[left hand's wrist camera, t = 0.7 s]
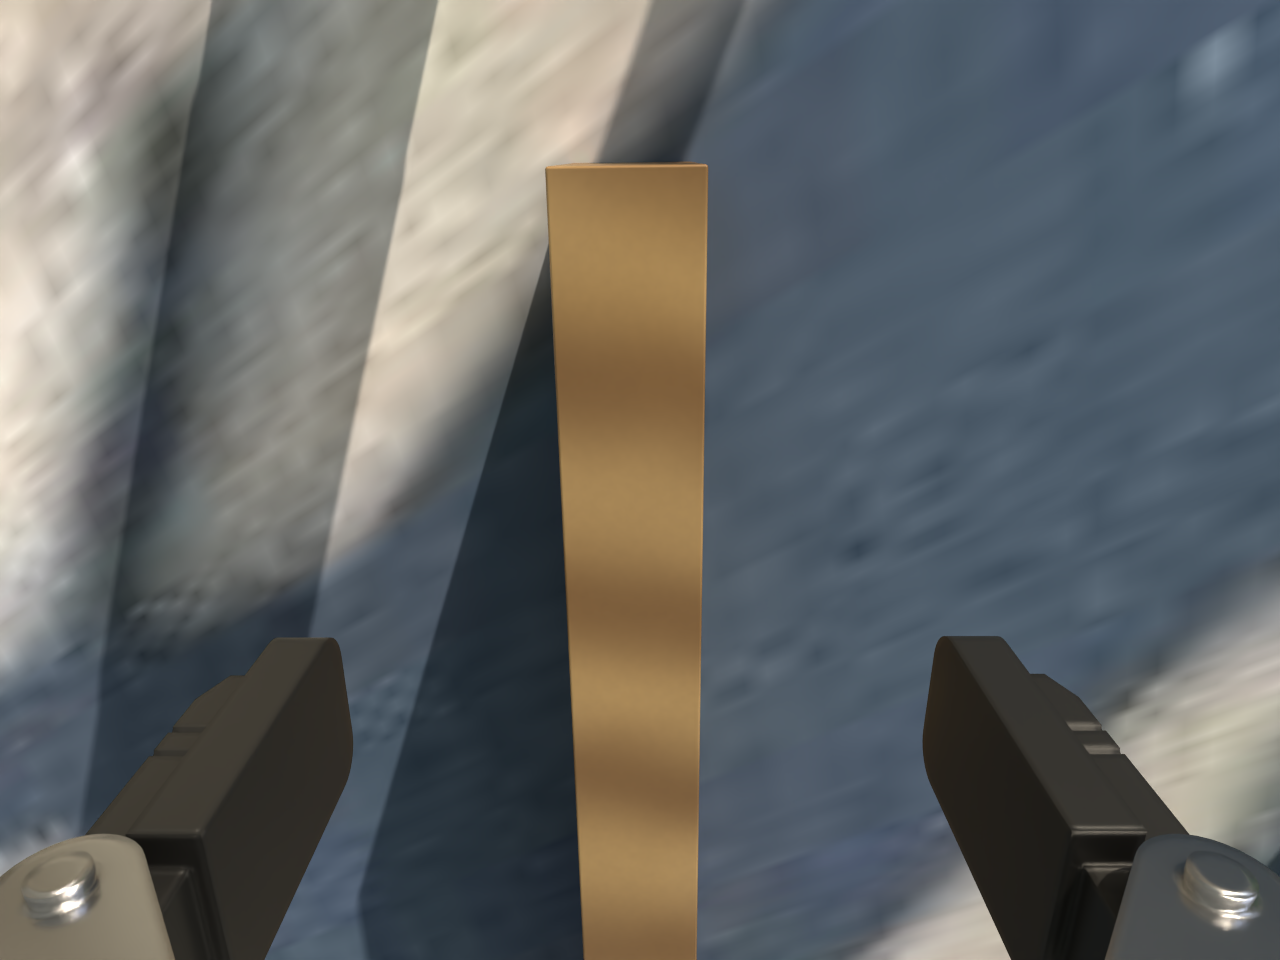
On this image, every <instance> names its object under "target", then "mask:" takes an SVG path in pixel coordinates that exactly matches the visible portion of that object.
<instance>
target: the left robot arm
mask: <svg viewBox="0 0 1280 960" xmlns="http://www.w3.org/2000/svg"><path fill="white" fill-rule="evenodd" d="M352 755H353V734H352V726H351V719H350V712H349V705H348V698H347V691H346V684H345V678H344V671H343V664H342V657H341V651H340V648H339V645H338V643H337V641H336V640H335V639H334V638H275V639H273V640H272V641H271V642H270V643H269V644H268V645H267V647H266V648H265V649H264V651H263V652H262V653H261V655H260V656H259V657H258V659H257V660H256V661H255V663H254V664H253V665H252V667H251V668H250V669H249V671H248V672H247V673H246V675H245V676H229V677H228V678H226V679H225V680H223V681H222V682H220V683H219V684H217V685H216V686H214V687H213V688H211V689H210V690H209V691H207V692H206V693H204V694H203V695H201V696H200V697H198V698H197V699H195V700H194V702H193V703H192V704H191V705H190V707H189V708H188V709H187V710H186V712H185V713H184V714H183V715H182V716H181V718H180V719H179V720H178V721H177V723H176V724H175V725H174V726H173V731H172V733H168V734H167V735H166V736H165V737H164V739H163V740H162V741H161V742H160V744H159V745H158V746H157V747H156V748H155V750H154V755H153V756H149V757H148V758H147V760H146V761H145V762H144V763H143V764H142V766H141V767H140V768H139V769H138V771H137V772H136V773H135V774H134V776H133V777H132V778H131V779H130V780H129V782H128V783H127V784H126V785H125V787H124V788H123V789H122V790H121V792H120V793H119V794H118V795H117V797H116V798H115V799H114V800H113V801H112V803H111V804H110V805H109V806H108V808H107V809H106V810H105V811H104V813H103V814H102V815H101V816H100V817H99V819H98V820H97V821H96V822H95V824H94V825H93V826H92V827H91V829H90V830H89V831H88V832H87V833H86V835H85V836H81V837H77V838H73V839H69V840H66V841H63V842H60V843H57V844H54V845H52V846H50V847H47V848H45V849H43V850H40V851H39V852H37V853H35V854H33V855H31V856H29V857H27V858H26V859H24V860H23V861H21V862H20V863H18V864H16V865H15V866H13V867H12V868H11V869H10V870H8V871H7V872H6V873H4V874H3V875H2V876H1V877H0V960H264V959H265V957H266V955H267V953H268V951H269V948H270V946H271V944H272V942H273V940H274V938H275V935H276V933H277V931H278V929H279V927H280V925H281V923H282V920H283V918H284V916H285V914H286V912H287V910H288V908H289V905H290V903H291V901H292V899H293V897H294V895H295V892H296V890H297V888H298V886H299V884H300V882H301V880H302V877H303V875H304V873H305V871H306V869H307V867H308V865H309V862H310V860H311V858H312V856H313V854H314V852H315V849H316V847H317V845H318V843H319V841H320V839H321V837H322V834H323V832H324V830H325V828H326V826H327V824H328V822H329V819H330V817H331V815H332V813H333V811H334V809H335V806H336V804H337V802H338V800H339V798H340V796H341V794H342V791H343V789H344V787H345V785H346V782H347V780H348V776H349V773H350V768H351V763H352ZM923 756H924V763H925V768H926V772H927V776H928V779H929V782H930V784H931V786H932V788H933V791H934V793H935V795H936V797H937V799H938V801H939V804H940V806H941V808H942V810H943V812H944V815H945V817H946V819H947V821H948V823H949V825H950V828H951V830H952V832H953V834H954V836H955V838H956V841H957V843H958V845H959V847H960V849H961V852H962V854H963V856H964V858H965V860H966V862H967V865H968V867H969V869H970V871H971V873H972V875H973V878H974V880H975V882H976V884H977V886H978V889H979V891H980V893H981V895H982V897H983V899H984V902H985V904H986V906H987V908H988V910H989V912H990V915H991V917H992V919H993V921H994V923H995V926H996V928H997V930H998V932H999V934H1000V936H1001V939H1002V941H1003V943H1004V945H1005V947H1006V949H1007V952H1008V954H1009V956H1010V958H1011V960H1280V877H1279V876H1278V875H1277V874H1276V873H1274V872H1273V871H1272V870H1270V869H1269V868H1268V867H1267V866H1265V865H1264V864H1262V863H1260V862H1259V861H1257V860H1256V859H1254V858H1253V857H1251V856H1249V855H1247V854H1245V853H1243V852H1241V851H1240V850H1237V849H1235V848H1233V847H1230V846H1228V845H1226V844H1223V843H1220V842H1217V841H1214V840H1211V839H1207V838H1203V837H1199V836H1194V835H1189V833H1188V832H1187V831H1186V830H1185V828H1184V827H1183V826H1182V825H1181V823H1180V822H1179V821H1178V820H1177V819H1176V817H1175V816H1174V815H1173V814H1172V812H1171V811H1170V810H1169V809H1168V807H1167V806H1166V805H1165V804H1164V802H1163V801H1162V800H1161V799H1160V797H1159V796H1158V795H1157V794H1156V792H1155V791H1154V790H1153V789H1152V787H1151V786H1150V785H1149V784H1148V782H1147V781H1146V780H1145V779H1144V778H1143V776H1142V775H1141V774H1140V773H1139V771H1138V770H1137V769H1136V768H1135V766H1134V765H1133V764H1132V763H1131V761H1130V760H1129V759H1128V758H1127V756H1126V755H1125V754H1121V753H1120V748H1119V746H1118V745H1117V744H1116V743H1115V741H1114V740H1113V739H1112V738H1111V736H1110V735H1109V734H1108V733H1107V732H1106V731H1102V729H1101V724H1100V723H1099V722H1098V720H1097V719H1096V718H1095V717H1094V715H1093V714H1092V713H1091V712H1090V710H1089V709H1088V708H1087V707H1086V705H1085V704H1084V703H1083V702H1082V700H1081V699H1080V698H1079V697H1078V696H1076V695H1075V694H1073V693H1072V692H1070V691H1069V690H1067V689H1066V688H1064V687H1063V686H1061V685H1060V684H1058V683H1057V682H1055V681H1054V680H1052V679H1051V678H1050V677H1048V676H1047V675H1045V674H1030V673H1029V672H1028V671H1027V669H1026V668H1025V667H1024V665H1023V664H1022V663H1021V661H1020V660H1019V659H1018V657H1017V656H1016V655H1015V653H1014V652H1013V651H1012V649H1011V648H1010V647H1009V645H1008V644H1007V643H1006V641H1005V640H1004V639H1003V638H1001V637H999V636H943V637H941V638H940V639H939V640H938V642H937V645H936V648H935V652H934V659H933V666H932V673H931V680H930V687H929V694H928V701H927V708H926V715H925V722H924V729H923Z"/></svg>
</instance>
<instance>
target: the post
mask: <svg viewBox="0 0 1280 960" xmlns="http://www.w3.org/2000/svg"><path fill="white" fill-rule="evenodd" d="M545 174H546V195H547V216H548V236H549V257H550V278H551V298H552V319H553V339H554V360H555V381H556V401H557V422H558V443H559V463H560V484H561V504H562V525H563V546H564V566H565V587H566V608H567V628H568V649H569V669H570V690H571V711H572V731H573V752H574V773H575V793H576V814H577V834H578V855H579V876H580V896H581V917H582V938H583V958H584V960H696V951H697V883H698V816H699V748H700V680H701V613H702V545H703V478H704V410H705V343H706V275H707V207H708V166H707V165H706V164H700V163H695V162H634V163H572V164H564V165H556V166H548V167H546V169H545Z"/></svg>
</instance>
